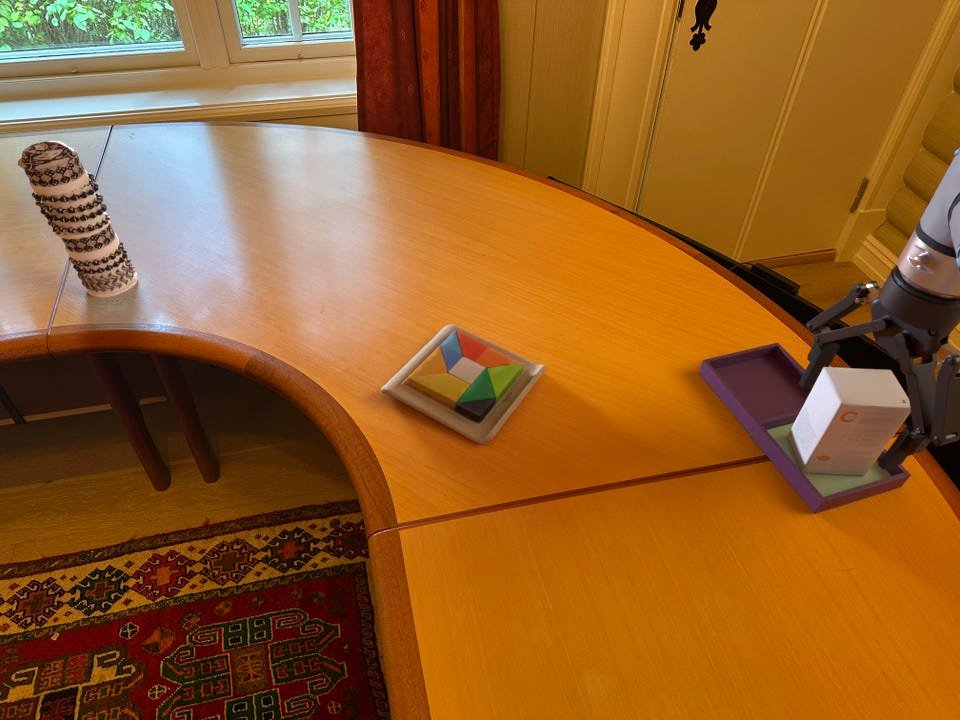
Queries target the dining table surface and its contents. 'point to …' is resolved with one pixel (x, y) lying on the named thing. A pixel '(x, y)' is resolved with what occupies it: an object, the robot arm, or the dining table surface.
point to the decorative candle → (78, 217)
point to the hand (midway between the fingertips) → (846, 421)
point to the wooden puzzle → (465, 383)
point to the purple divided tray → (786, 423)
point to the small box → (848, 420)
